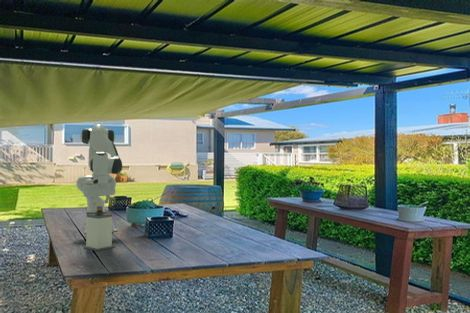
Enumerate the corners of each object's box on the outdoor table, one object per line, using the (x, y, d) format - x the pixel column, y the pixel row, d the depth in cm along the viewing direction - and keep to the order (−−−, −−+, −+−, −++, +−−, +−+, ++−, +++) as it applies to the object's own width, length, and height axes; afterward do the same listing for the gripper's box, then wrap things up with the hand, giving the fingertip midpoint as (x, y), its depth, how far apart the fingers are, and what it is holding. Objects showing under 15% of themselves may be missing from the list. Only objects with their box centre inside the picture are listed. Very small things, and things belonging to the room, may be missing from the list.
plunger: (99, 237, 256) (100, 205, 256) (107, 239, 252) (108, 206, 252) (90, 239, 250) (90, 206, 250) (98, 240, 246) (98, 207, 246)
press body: (100, 244, 260) (101, 212, 259) (114, 247, 253) (114, 214, 253) (83, 248, 250) (84, 214, 249) (97, 251, 243) (98, 216, 243)
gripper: (110, 178, 261) (110, 201, 262) (82, 180, 244) (81, 205, 244) (117, 179, 258) (117, 202, 258) (89, 181, 241) (88, 206, 241)
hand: (99, 203), depth 251 cm, fingers open, 8 cm apart
